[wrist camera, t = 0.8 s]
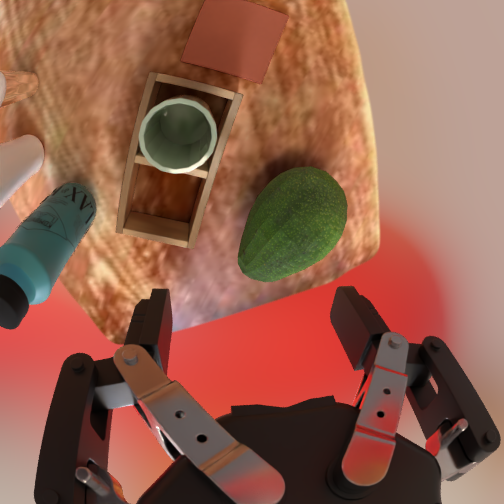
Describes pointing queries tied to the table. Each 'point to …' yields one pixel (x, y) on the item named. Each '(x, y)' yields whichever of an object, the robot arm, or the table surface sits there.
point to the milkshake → (16, 86)
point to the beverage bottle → (42, 250)
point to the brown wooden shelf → (173, 229)
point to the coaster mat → (235, 38)
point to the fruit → (292, 224)
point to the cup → (178, 134)
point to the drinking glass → (18, 163)
